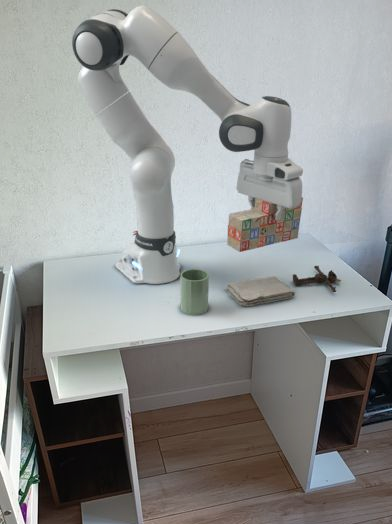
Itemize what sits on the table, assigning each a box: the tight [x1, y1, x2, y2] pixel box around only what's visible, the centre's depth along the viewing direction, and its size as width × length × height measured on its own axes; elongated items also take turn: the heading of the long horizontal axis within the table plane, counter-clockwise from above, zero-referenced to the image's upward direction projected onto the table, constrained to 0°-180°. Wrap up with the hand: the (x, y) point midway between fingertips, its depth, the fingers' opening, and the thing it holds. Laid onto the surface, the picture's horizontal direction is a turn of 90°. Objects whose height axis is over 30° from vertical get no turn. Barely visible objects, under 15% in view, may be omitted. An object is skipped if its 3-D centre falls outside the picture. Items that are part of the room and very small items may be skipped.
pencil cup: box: [179, 268, 210, 316], centre depth 142 cm, size 8×8×10 cm
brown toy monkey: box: [292, 265, 342, 294], centre depth 158 cm, size 18×4×14 cm
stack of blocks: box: [226, 196, 304, 253], centre depth 143 cm, size 21×6×12 cm, turn 123°
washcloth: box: [226, 276, 296, 307], centre depth 151 cm, size 12×18×3 cm, turn 111°
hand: (265, 216), depth 142 cm, fingers closed on stack of blocks, 6 cm apart
